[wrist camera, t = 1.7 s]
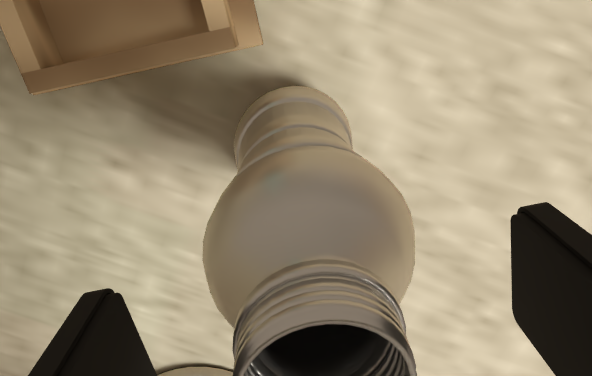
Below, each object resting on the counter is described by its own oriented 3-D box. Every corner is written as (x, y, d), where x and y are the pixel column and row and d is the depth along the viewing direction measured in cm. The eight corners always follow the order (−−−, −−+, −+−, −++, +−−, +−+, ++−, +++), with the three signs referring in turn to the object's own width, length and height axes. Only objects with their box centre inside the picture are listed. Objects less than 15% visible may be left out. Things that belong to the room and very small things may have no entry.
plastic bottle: (215, 137, 27) (80, 411, 8) (291, 54, 25) (331, 165, 7) (291, 203, 29) (318, 548, 10) (367, 129, 27) (562, 378, 9)
